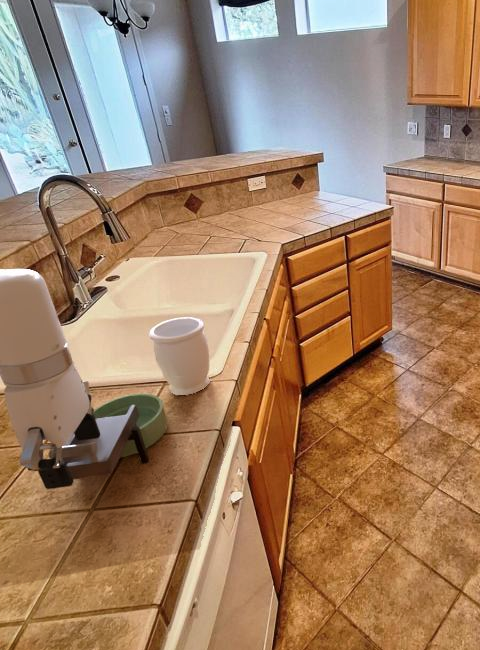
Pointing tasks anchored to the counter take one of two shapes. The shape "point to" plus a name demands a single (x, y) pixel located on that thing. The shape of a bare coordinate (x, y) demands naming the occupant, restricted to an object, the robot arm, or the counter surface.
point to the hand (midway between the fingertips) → (75, 460)
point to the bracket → (139, 444)
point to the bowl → (149, 418)
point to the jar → (182, 354)
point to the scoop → (99, 446)
